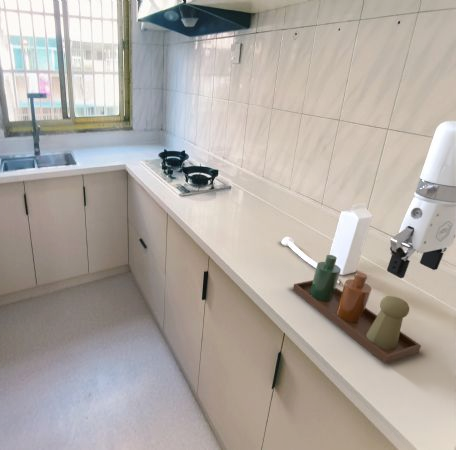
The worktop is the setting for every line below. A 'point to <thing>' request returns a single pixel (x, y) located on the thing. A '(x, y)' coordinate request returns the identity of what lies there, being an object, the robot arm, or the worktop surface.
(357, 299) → the amber bottle
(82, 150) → the worktop surface
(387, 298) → the cork
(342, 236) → the milk
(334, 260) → the green bottle
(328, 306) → the tray
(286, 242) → the spatula
